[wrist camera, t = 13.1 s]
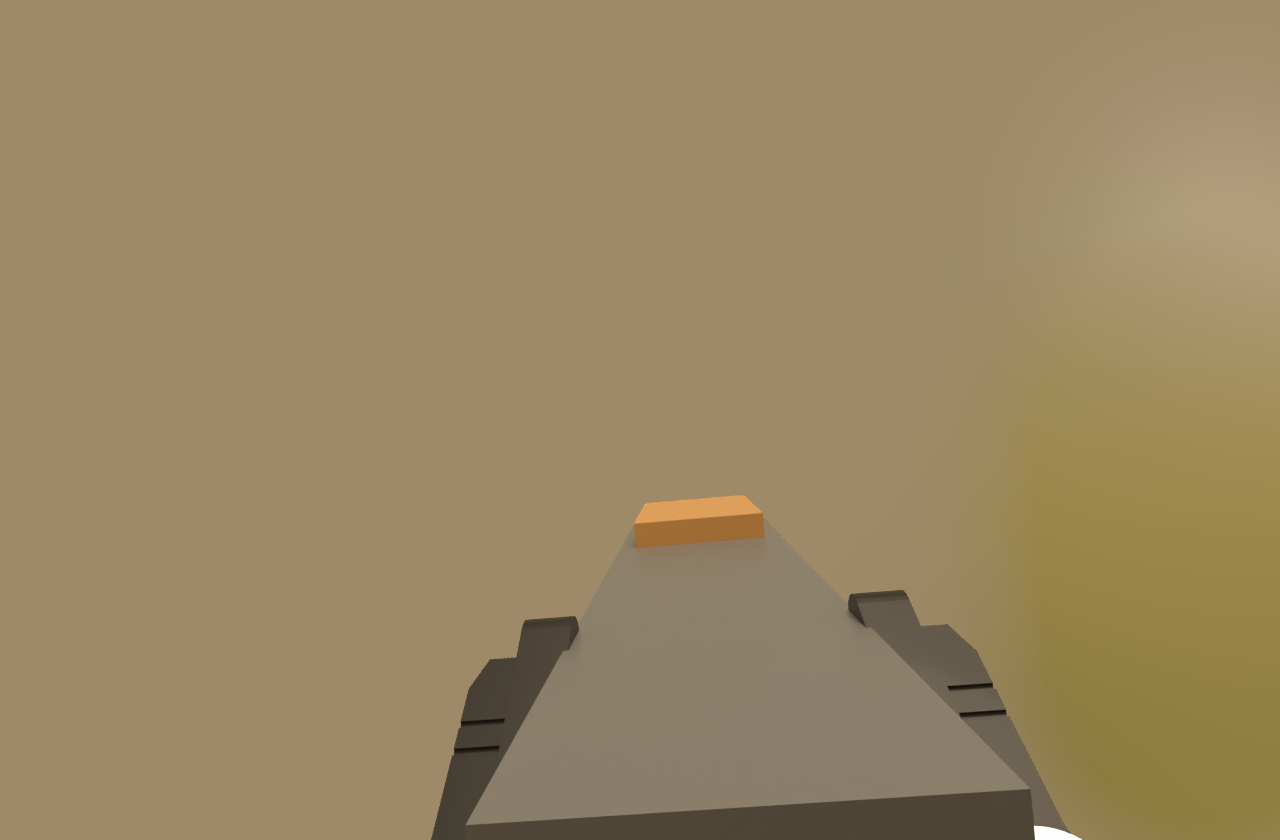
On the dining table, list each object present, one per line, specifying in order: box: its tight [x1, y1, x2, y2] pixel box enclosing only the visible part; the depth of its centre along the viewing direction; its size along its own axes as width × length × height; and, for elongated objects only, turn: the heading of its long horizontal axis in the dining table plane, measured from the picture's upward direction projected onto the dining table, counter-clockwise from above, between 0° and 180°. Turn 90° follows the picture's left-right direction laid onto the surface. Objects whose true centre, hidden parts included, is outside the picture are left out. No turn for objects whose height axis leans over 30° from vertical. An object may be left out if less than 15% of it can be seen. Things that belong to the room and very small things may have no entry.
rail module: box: [465, 495, 1036, 840], centre depth 17 cm, size 22×4×5 cm, turn 177°
